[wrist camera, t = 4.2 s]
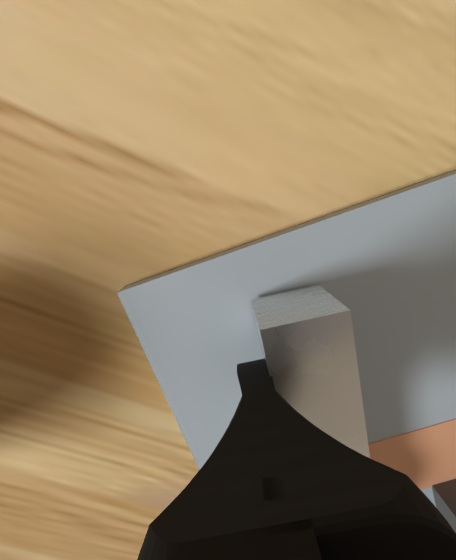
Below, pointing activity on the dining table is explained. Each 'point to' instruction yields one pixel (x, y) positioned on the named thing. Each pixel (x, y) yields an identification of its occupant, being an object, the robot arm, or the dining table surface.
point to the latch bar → (314, 360)
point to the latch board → (365, 320)
